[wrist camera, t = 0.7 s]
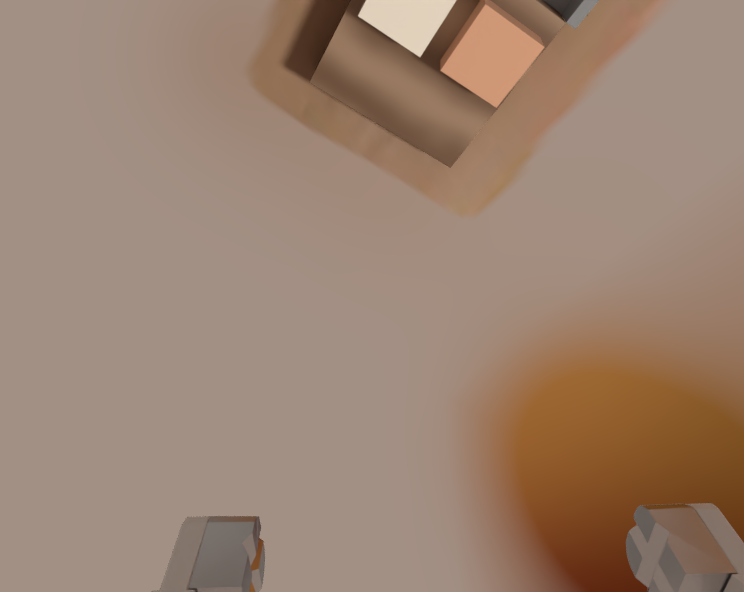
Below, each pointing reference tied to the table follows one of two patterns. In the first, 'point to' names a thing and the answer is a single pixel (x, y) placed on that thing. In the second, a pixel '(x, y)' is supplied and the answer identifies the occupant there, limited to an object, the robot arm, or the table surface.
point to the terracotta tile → (491, 52)
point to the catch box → (573, 9)
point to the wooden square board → (417, 77)
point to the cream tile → (407, 20)
